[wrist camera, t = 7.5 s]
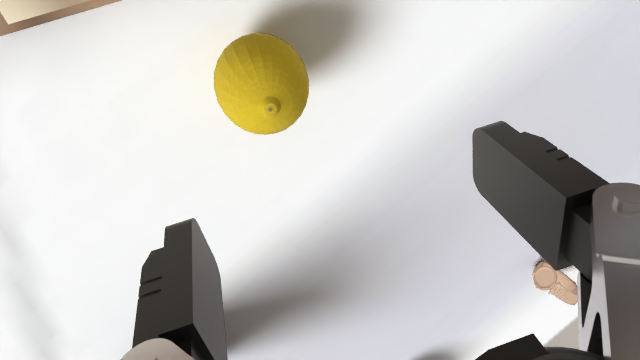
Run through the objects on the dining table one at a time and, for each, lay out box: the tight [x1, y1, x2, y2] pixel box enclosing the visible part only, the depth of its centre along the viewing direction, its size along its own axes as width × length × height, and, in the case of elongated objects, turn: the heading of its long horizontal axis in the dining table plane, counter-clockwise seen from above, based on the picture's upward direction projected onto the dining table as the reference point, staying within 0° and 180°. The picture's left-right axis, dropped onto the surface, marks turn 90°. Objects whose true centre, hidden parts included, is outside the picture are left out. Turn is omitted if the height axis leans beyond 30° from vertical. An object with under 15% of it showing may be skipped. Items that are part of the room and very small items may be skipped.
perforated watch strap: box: [532, 261, 578, 305], centre depth 47 cm, size 3×5×5 cm, turn 60°
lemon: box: [214, 33, 309, 135], centre depth 27 cm, size 6×6×8 cm
